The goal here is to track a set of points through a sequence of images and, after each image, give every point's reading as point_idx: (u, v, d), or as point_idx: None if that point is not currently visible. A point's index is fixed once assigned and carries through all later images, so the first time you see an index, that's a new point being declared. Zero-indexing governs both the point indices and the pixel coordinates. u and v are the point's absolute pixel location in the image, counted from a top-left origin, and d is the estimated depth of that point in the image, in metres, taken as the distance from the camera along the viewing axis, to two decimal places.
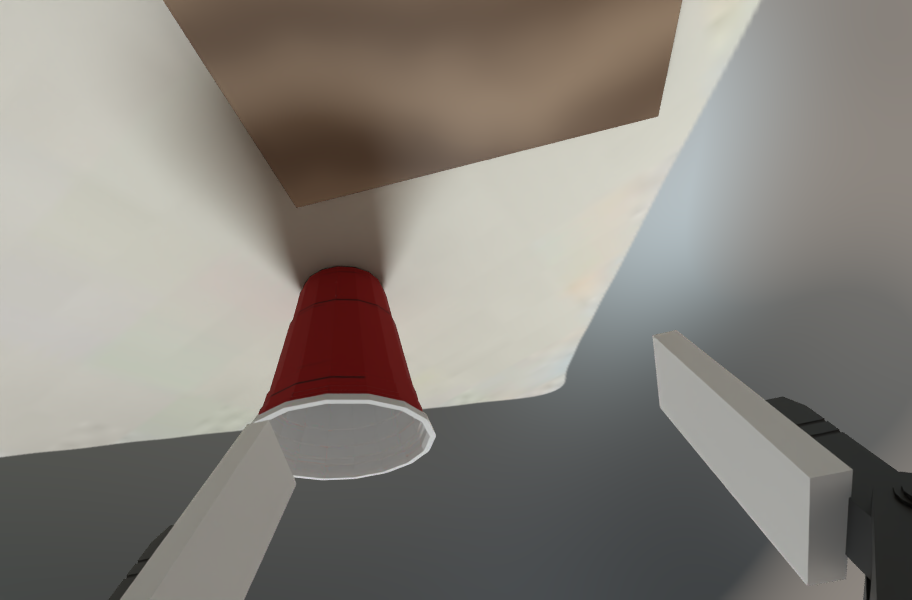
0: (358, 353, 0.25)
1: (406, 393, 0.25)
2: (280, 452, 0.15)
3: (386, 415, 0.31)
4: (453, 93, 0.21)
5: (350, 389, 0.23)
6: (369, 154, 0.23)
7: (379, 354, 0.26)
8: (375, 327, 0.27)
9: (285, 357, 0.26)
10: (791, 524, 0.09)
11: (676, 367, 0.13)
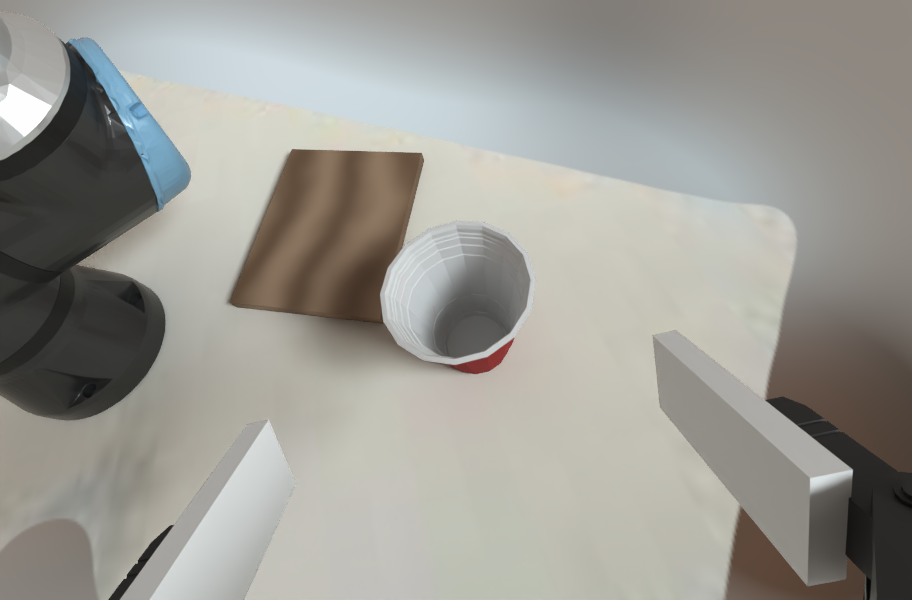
0: None
1: None
2: (280, 452, 0.15)
3: (517, 291, 0.33)
4: (364, 228, 0.46)
5: (405, 263, 0.33)
6: (370, 270, 0.44)
7: None
8: None
9: (418, 336, 0.34)
10: (791, 524, 0.09)
11: (676, 367, 0.13)
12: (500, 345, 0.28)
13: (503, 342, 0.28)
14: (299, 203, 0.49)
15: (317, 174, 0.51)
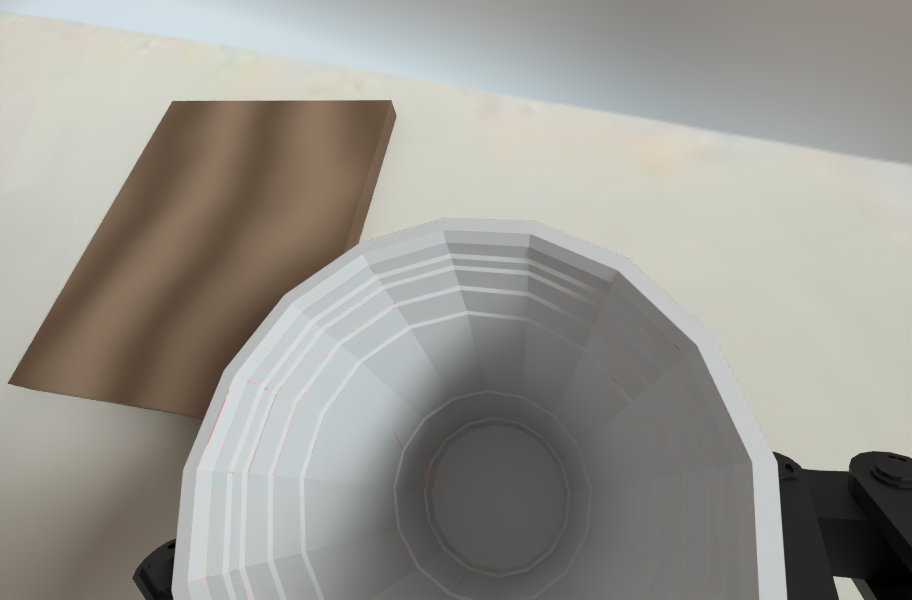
0: None
1: None
2: None
3: (637, 436, 0.10)
4: (277, 237, 0.24)
5: (292, 348, 0.11)
6: None
7: None
8: None
9: None
10: None
11: None
12: None
13: None
14: (169, 191, 0.27)
15: (207, 140, 0.29)
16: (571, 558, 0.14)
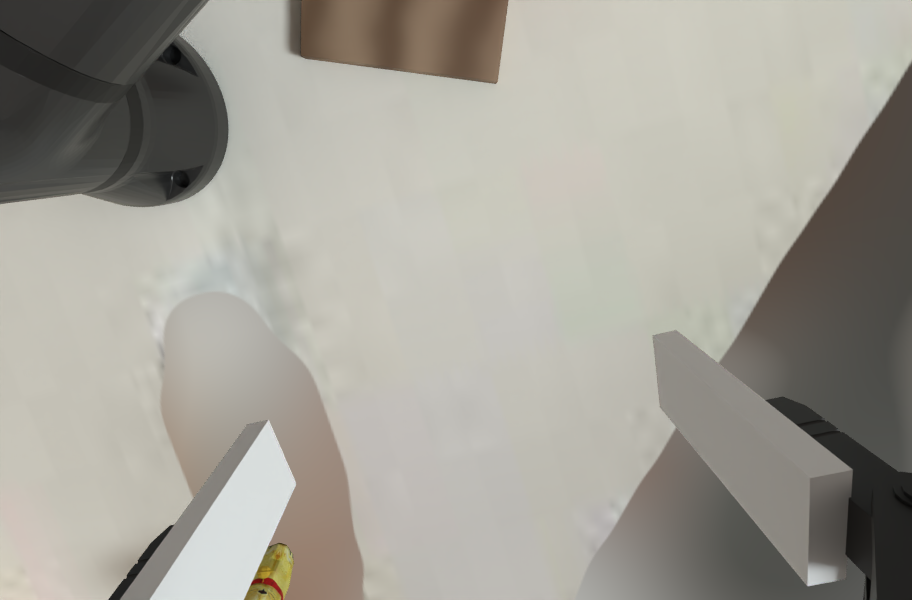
0: None
1: None
2: (280, 452, 0.15)
3: None
4: None
5: None
6: (480, 9, 0.35)
7: None
8: None
9: None
10: (791, 524, 0.09)
11: (676, 367, 0.13)
12: None
13: None
14: None
15: None
16: None
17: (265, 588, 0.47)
